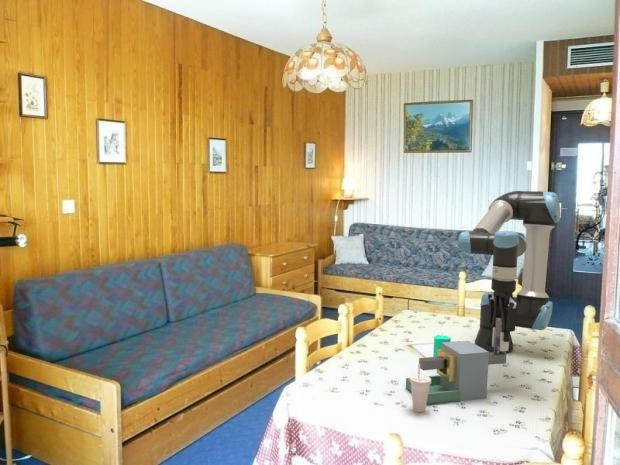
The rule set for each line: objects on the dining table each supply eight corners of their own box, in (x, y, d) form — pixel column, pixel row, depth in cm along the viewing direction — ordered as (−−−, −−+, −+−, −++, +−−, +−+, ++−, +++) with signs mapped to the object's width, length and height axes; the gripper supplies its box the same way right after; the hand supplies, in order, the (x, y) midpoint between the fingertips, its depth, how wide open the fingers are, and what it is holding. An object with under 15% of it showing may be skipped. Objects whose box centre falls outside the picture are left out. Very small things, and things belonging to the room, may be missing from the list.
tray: (438, 385, 184) (439, 375, 183) (459, 401, 171) (460, 390, 170) (405, 388, 180) (406, 378, 180) (425, 405, 167) (425, 394, 167)
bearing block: (466, 383, 185) (468, 340, 184) (486, 397, 174) (488, 351, 172) (439, 386, 183) (441, 342, 181) (458, 400, 171) (460, 354, 170)
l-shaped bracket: (500, 359, 183) (503, 316, 181) (507, 363, 180) (509, 318, 178) (418, 366, 175) (420, 321, 173) (423, 370, 172) (425, 324, 170)
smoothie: (406, 405, 167) (407, 360, 166) (426, 404, 168) (428, 360, 166) (411, 414, 161) (413, 368, 159) (433, 413, 162) (434, 368, 160)
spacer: (443, 372, 180) (444, 348, 179) (456, 381, 173) (457, 356, 172) (436, 373, 180) (437, 349, 179) (448, 382, 172) (450, 357, 171)
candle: (449, 367, 200) (451, 336, 199) (433, 366, 202) (434, 334, 200) (449, 362, 206) (450, 331, 205) (432, 361, 207) (434, 330, 206)
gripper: (479, 274, 185) (476, 341, 187) (509, 284, 169) (505, 357, 171) (498, 273, 187) (495, 340, 189) (530, 283, 171) (526, 356, 173)
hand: (500, 348), depth 180 cm, fingers closed on l-shaped bracket, 4 cm apart
